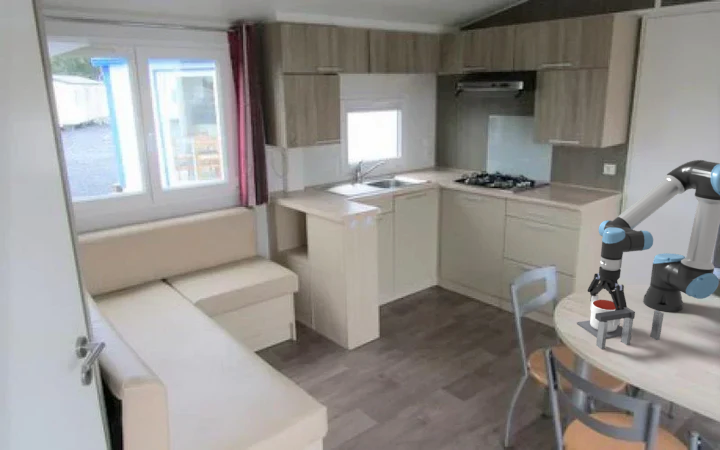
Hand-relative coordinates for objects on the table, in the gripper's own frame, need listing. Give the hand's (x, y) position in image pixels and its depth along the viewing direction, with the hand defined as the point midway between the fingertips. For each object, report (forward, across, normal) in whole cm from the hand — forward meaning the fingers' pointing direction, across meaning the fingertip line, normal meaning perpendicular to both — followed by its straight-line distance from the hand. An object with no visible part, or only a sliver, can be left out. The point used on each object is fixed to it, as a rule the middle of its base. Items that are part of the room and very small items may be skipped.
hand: (604, 317), depth 209 cm
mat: (+5, 0, 0) cm, 5 cm away
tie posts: (+5, +12, +1) cm, 13 cm away
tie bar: (-6, +12, -6) cm, 15 cm away
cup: (+4, 0, 0) cm, 4 cm away
